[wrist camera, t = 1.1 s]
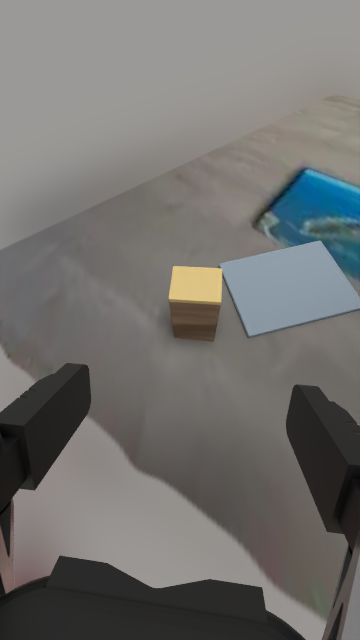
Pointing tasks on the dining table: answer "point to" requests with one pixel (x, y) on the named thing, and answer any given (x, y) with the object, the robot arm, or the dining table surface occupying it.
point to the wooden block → (195, 302)
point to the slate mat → (288, 288)
